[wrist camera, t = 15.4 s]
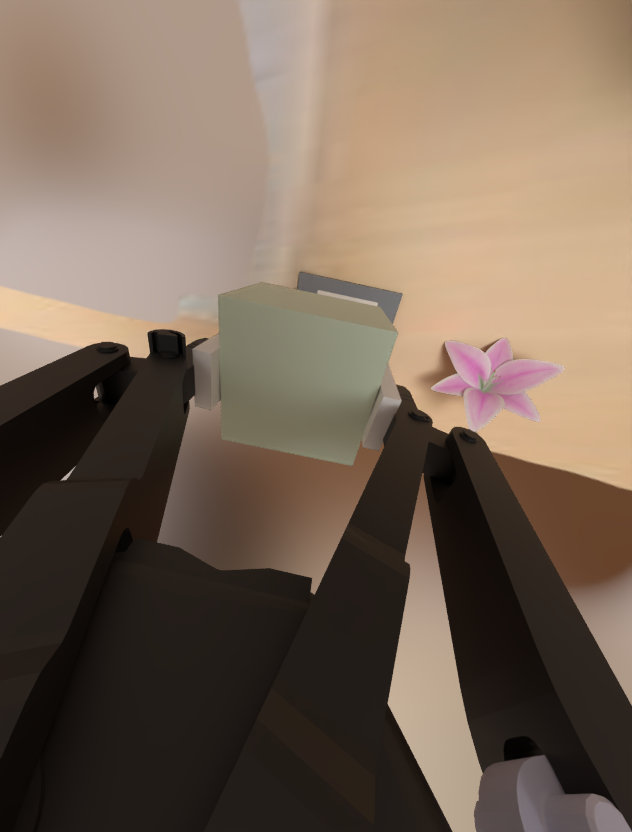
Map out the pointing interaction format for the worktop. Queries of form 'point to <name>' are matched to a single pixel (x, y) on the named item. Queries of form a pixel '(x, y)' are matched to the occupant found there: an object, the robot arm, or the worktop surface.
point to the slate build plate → (351, 292)
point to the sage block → (300, 369)
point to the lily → (494, 381)
